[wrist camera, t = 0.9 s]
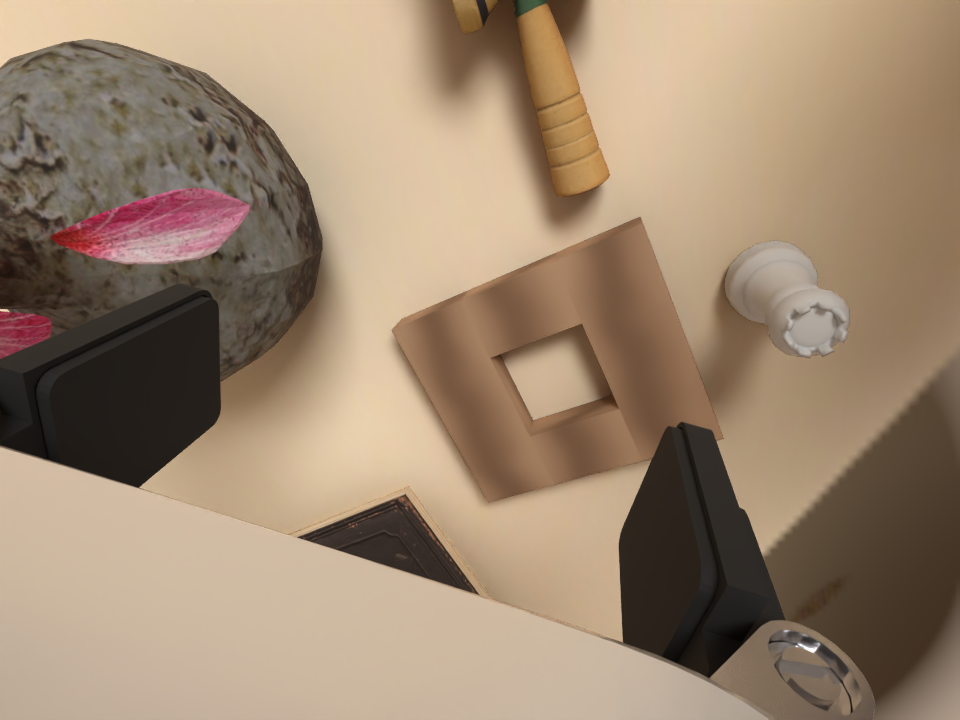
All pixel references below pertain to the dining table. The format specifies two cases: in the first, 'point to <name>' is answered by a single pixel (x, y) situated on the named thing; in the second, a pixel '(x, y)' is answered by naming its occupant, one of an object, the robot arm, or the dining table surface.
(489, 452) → the board
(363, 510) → the hardcover book
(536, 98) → the kendama
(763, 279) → the rook chess piece
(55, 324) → the vase
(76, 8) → the dining table surface
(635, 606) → the robot arm
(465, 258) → the dining table surface
